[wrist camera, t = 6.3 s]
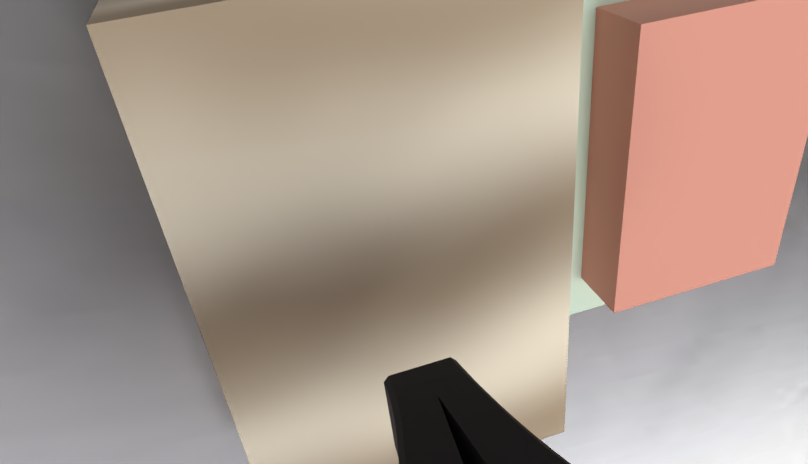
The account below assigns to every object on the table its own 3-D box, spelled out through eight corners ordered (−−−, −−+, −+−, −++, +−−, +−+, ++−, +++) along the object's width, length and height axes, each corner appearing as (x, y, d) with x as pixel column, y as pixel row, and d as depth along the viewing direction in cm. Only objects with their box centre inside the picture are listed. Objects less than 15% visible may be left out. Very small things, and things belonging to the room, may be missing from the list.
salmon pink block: (613, 312, 20) (581, 277, 22) (774, 264, 21) (731, 234, 23) (641, 24, 15) (596, 6, 17) (847, -19, 16) (786, -31, 18)
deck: (508, 347, 23) (564, 431, 20) (259, 423, 21) (273, 529, 18) (498, -82, 15) (586, -63, 12) (108, -19, 14) (86, 25, 10)
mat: (716, 265, 24) (722, 269, 24) (534, 319, 22) (538, 324, 22) (787, -89, 17) (796, -88, 17) (536, -45, 16) (542, -43, 16)
